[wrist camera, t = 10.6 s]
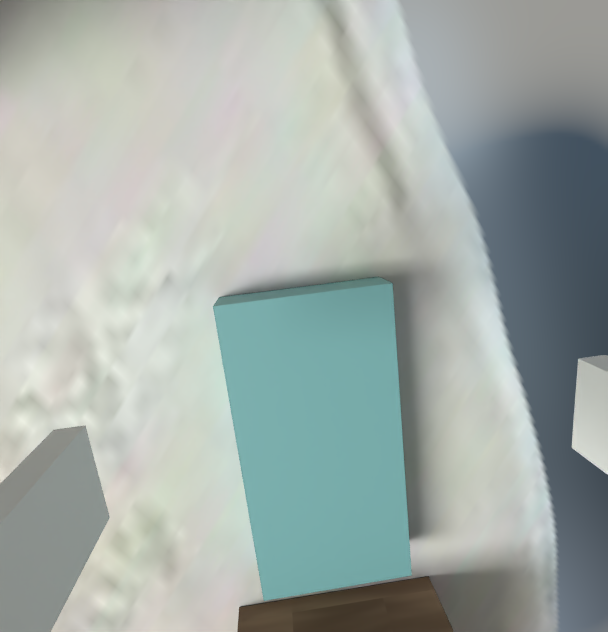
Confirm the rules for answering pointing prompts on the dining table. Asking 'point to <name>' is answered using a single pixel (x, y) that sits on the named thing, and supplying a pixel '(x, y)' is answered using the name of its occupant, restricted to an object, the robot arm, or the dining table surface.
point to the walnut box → (353, 611)
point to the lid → (318, 432)
